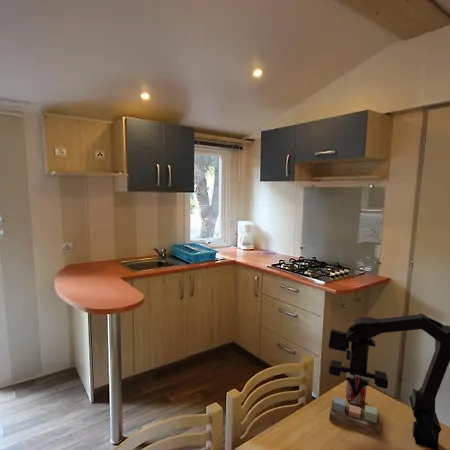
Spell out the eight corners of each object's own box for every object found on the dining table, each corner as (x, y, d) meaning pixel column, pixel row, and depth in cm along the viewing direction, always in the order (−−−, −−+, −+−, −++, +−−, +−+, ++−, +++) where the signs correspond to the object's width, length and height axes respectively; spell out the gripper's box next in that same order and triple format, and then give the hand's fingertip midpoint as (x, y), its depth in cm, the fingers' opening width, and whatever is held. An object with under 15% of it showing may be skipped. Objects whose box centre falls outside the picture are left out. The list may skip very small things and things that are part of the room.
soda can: (362, 409, 119) (365, 379, 117) (343, 401, 123) (345, 372, 122) (367, 399, 124) (369, 371, 123) (348, 392, 129) (350, 364, 127)
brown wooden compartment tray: (378, 419, 114) (379, 413, 113) (379, 435, 106) (379, 428, 106) (331, 405, 120) (332, 399, 120) (329, 419, 113) (329, 413, 113)
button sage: (376, 416, 112) (377, 408, 112) (376, 423, 108) (377, 415, 108) (364, 412, 113) (365, 404, 113) (364, 419, 110) (365, 411, 110)
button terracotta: (360, 415, 114) (360, 407, 114) (359, 422, 111) (360, 414, 110) (348, 411, 116) (349, 404, 115) (348, 418, 112) (348, 410, 112)
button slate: (345, 406, 116) (345, 399, 116) (344, 413, 113) (345, 405, 112) (334, 403, 118) (334, 396, 117) (333, 410, 114) (333, 402, 114)
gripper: (388, 350, 114) (383, 390, 116) (333, 338, 122) (330, 376, 123) (389, 365, 104) (385, 409, 106) (330, 351, 112) (327, 393, 113)
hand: (355, 395), depth 112 cm, fingers closed
